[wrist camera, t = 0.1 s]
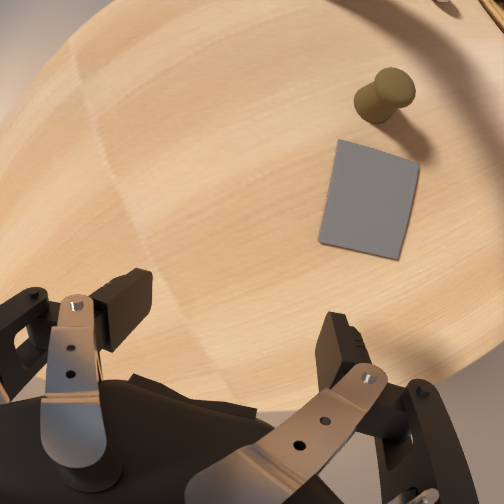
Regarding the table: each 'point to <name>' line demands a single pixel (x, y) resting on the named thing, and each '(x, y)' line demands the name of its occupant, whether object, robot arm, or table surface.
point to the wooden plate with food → (495, 11)
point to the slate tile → (368, 200)
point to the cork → (384, 95)
